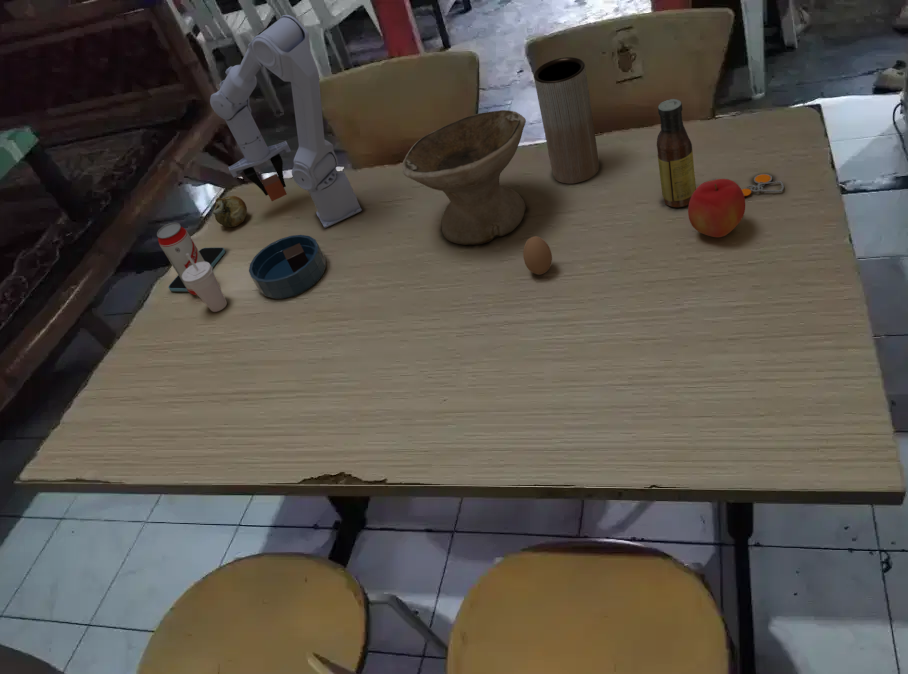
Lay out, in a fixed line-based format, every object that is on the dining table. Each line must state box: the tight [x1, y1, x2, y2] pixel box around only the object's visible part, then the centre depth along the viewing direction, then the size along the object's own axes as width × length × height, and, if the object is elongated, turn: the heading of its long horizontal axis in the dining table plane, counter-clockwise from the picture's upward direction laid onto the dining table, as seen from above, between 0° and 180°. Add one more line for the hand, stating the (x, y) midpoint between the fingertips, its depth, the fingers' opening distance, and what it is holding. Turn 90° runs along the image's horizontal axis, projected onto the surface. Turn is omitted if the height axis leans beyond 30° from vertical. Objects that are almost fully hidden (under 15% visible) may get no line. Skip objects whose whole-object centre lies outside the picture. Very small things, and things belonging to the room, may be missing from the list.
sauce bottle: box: [656, 98, 697, 208], centre depth 135 cm, size 6×6×20 cm
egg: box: [522, 236, 553, 275], centre depth 135 cm, size 5×5×8 cm
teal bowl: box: [248, 234, 327, 300], centre depth 156 cm, size 15×15×5 cm
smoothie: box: [182, 253, 228, 313], centre depth 152 cm, size 6×6×14 cm
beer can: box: [156, 222, 205, 297], centre depth 157 cm, size 6×6×16 cm
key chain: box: [712, 173, 785, 197], centre depth 138 cm, size 13×7×1 cm, turn 76°
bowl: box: [401, 109, 527, 246], centre depth 147 cm, size 26×25×20 cm
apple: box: [687, 178, 746, 238], centre depth 129 cm, size 10×10×10 cm
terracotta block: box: [260, 173, 288, 202], centre depth 175 cm, size 4×4×4 cm
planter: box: [533, 56, 600, 184], centre depth 150 cm, size 10×10×23 cm
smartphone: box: [167, 247, 226, 292], centre depth 169 cm, size 7×1×15 cm
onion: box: [212, 195, 248, 228], centre depth 178 cm, size 8×8×8 cm
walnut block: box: [283, 243, 309, 273], centre depth 157 cm, size 4×4×4 cm
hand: (275, 189), depth 175 cm, fingers closed on terracotta block, 4 cm apart
